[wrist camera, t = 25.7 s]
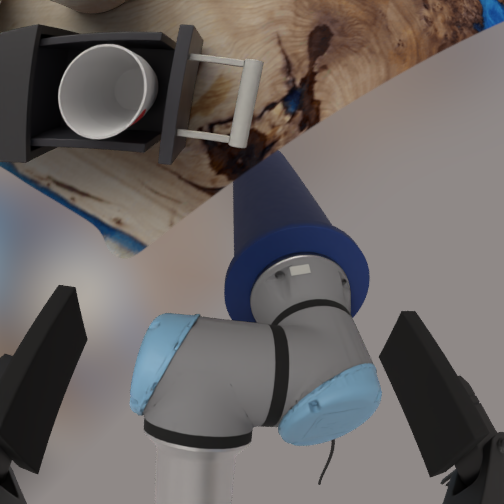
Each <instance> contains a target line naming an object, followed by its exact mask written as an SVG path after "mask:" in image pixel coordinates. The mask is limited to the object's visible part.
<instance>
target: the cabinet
mask: <svg viewBox="0 0 504 504" xmlns="http://www.w3.org/2000/svg"><path fill="white" fill-rule="evenodd" d="M76 34H79V33H75V32H71V31H67V30H63V29H58V28H54V27H49V26H44V25H39V24H37V25H32V26H27V27H23V28H18V29H14V30H10V31H6V32H2V33H0V162H21V163H26V162H28V161H30V160H32V159H34V158H36V157H38V156H40V155H42V154H44V153H46V152H48V151H50V150H53V149H55V148H57V147H51V146H31V112H32V97H33V86H34V77H35V68H36V61H37V54H38V48H39V42H40V39H44V38H51V37H58V36H66V35H76Z"/></svg>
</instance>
